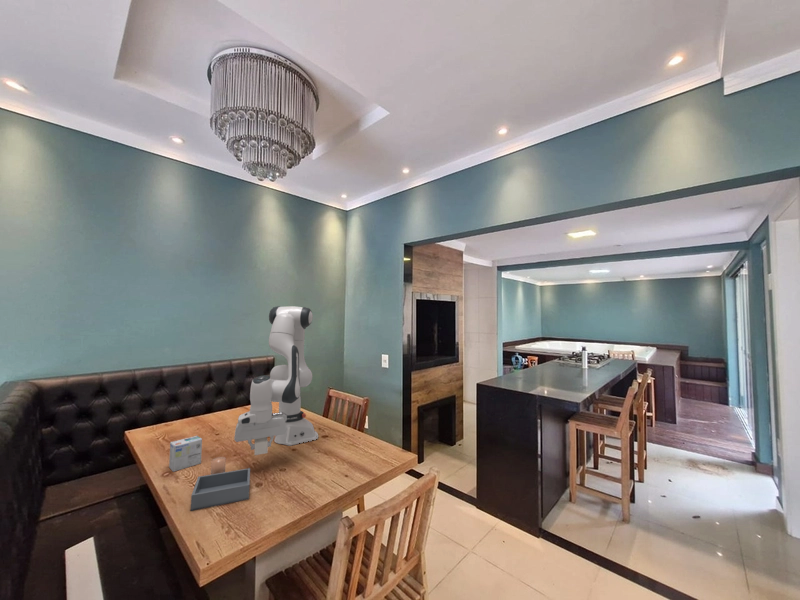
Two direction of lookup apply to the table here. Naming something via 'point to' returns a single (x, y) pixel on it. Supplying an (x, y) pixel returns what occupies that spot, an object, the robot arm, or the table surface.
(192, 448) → the light bulb box
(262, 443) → the cream cube
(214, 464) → the tan rounded cylinder
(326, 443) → the table surface
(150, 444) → the table surface
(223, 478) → the box
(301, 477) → the table surface
